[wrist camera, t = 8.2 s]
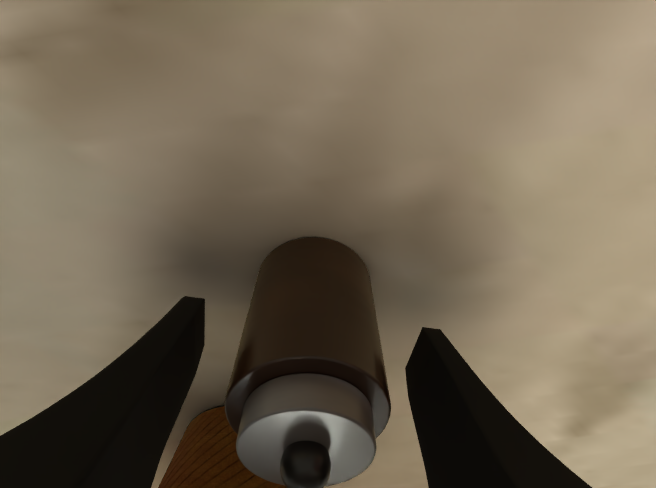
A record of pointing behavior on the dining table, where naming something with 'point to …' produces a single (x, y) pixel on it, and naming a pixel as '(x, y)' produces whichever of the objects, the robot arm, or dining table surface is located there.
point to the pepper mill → (309, 369)
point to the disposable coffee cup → (210, 457)
